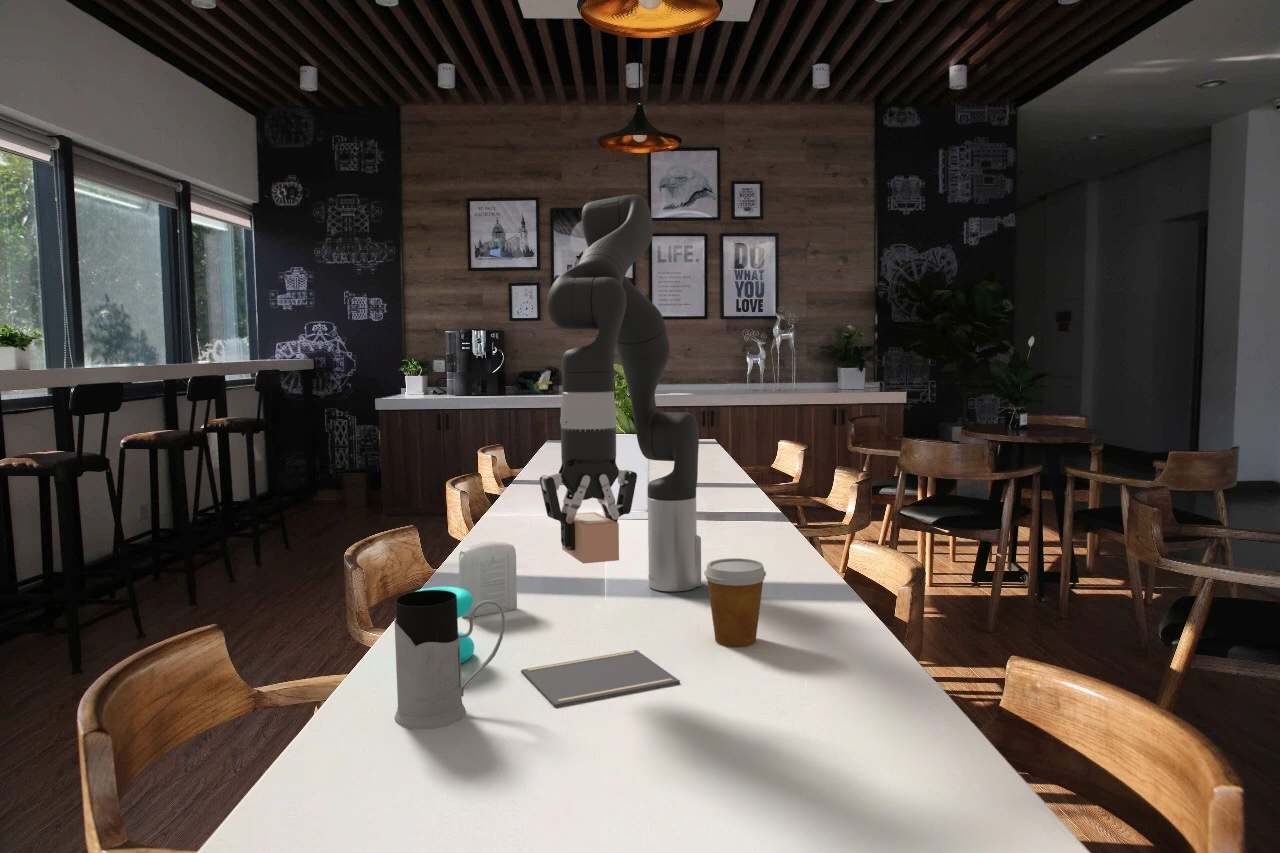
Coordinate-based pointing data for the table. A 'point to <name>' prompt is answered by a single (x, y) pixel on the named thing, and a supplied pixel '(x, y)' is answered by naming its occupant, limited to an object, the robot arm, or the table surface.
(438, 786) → the table surface
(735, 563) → the disposable coffee cup
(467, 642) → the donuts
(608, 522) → the card box
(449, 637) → the glass holder
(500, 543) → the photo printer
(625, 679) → the mat
